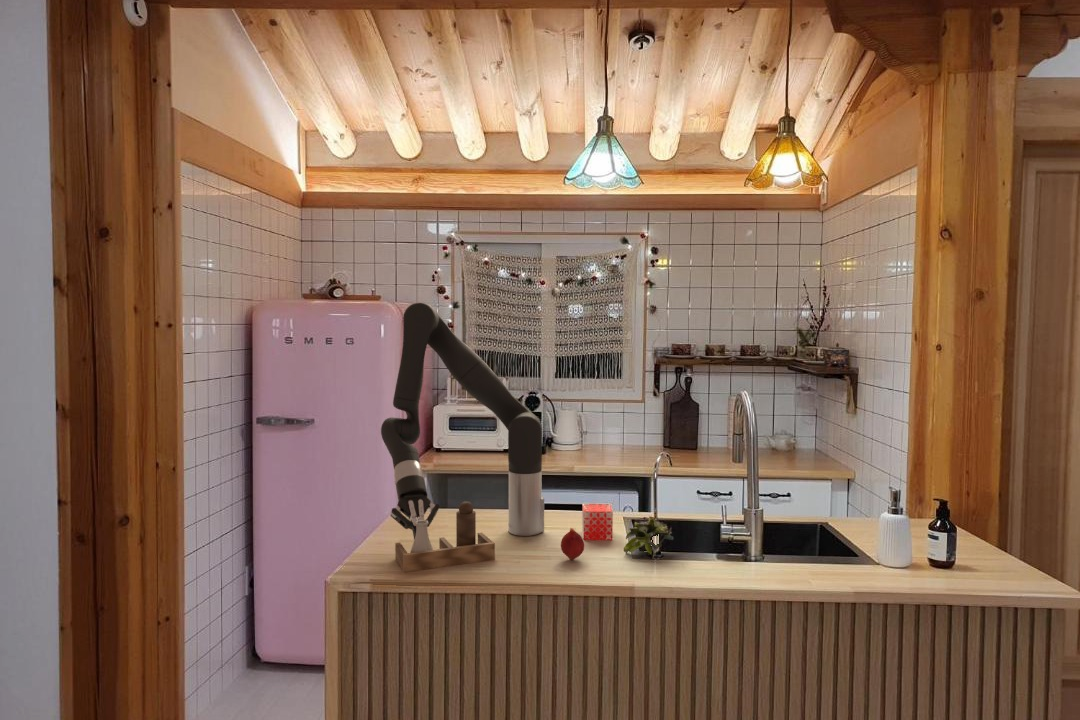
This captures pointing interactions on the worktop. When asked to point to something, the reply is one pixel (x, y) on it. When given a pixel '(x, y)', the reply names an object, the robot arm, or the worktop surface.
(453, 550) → the rack
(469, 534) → the pepper mill
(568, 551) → the onion
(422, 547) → the flask
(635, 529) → the green leafy plant
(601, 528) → the red patterned cube
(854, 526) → the worktop surface
